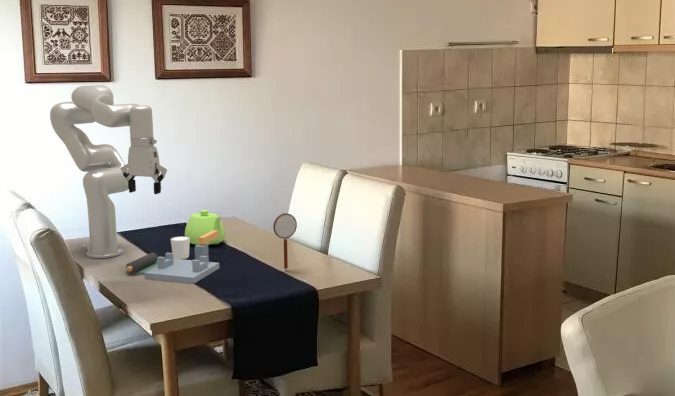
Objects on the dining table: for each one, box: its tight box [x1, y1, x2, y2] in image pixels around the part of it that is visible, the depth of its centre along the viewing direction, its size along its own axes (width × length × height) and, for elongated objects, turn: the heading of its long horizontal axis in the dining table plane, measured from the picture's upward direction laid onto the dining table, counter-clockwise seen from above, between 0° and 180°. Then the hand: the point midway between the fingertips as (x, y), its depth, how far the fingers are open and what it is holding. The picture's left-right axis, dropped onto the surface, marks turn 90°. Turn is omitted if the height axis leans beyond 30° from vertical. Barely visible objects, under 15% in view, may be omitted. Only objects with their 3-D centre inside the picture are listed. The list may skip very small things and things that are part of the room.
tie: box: [198, 230, 219, 245], centre depth 258 cm, size 2×11×2 cm, turn 162°
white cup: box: [170, 236, 191, 260], centre depth 269 cm, size 7×7×7 cm
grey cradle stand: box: [144, 244, 220, 285], centre depth 249 cm, size 18×18×8 cm
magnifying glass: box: [272, 212, 298, 272], centre depth 250 cm, size 9×2×20 cm, turn 120°
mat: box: [125, 261, 158, 276], centre depth 257 cm, size 8×16×1 cm, turn 162°
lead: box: [125, 252, 159, 275], centre depth 254 cm, size 16×4×4 cm, turn 162°
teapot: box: [184, 209, 226, 246], centre depth 287 cm, size 22×15×13 cm
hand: (144, 192), depth 252 cm, fingers open, 9 cm apart
